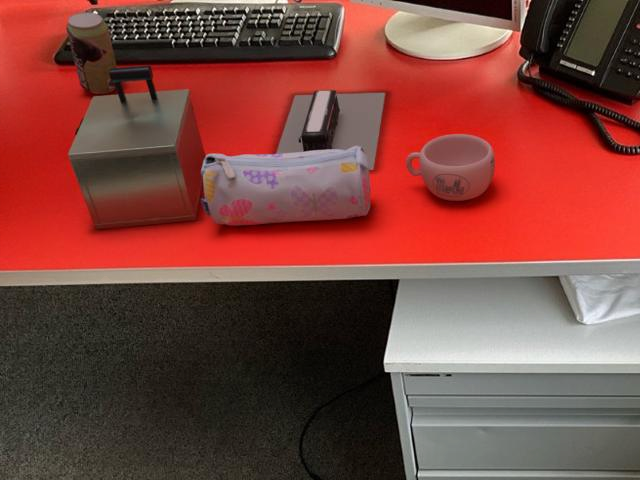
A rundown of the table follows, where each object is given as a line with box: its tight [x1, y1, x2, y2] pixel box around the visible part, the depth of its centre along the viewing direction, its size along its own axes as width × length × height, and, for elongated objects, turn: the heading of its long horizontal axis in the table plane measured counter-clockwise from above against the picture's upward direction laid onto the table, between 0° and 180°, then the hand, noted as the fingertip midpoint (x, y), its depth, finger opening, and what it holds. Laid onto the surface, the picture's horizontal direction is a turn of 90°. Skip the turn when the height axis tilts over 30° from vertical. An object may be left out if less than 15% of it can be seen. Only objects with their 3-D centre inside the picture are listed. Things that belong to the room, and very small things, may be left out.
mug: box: [405, 133, 496, 202], centre depth 119 cm, size 12×10×6 cm
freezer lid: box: [67, 64, 192, 161], centre depth 113 cm, size 16×13×5 cm
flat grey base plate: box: [275, 89, 386, 171], centre depth 133 cm, size 14×25×4 cm, turn 2°
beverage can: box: [65, 11, 118, 95], centre depth 142 cm, size 6×7×12 cm
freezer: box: [69, 97, 207, 230], centre depth 118 cm, size 16×13×10 cm
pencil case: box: [200, 146, 371, 227], centre depth 113 cm, size 21×9×10 cm, turn 92°
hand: (126, 0), depth 118 cm, fingers open, 8 cm apart
